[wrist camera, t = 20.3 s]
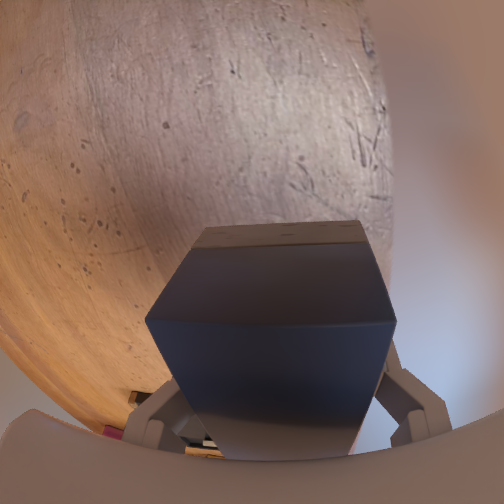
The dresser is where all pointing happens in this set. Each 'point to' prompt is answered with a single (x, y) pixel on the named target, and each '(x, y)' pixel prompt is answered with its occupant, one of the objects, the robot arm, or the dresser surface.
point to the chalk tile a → (208, 443)
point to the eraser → (277, 336)
